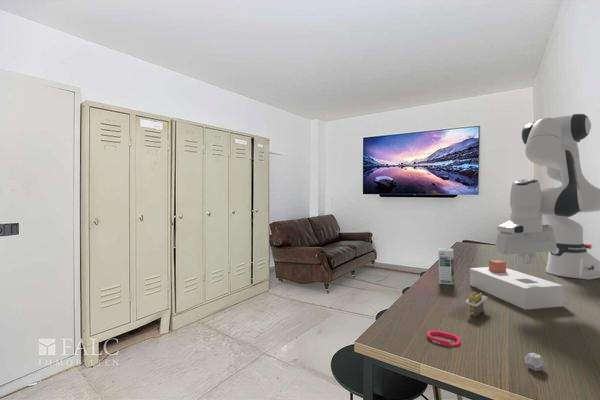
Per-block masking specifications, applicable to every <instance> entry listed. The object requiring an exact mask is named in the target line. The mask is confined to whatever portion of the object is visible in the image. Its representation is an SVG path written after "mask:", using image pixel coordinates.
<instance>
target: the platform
mask: <svg viewBox="0 0 600 400" xmlns="http://www.w3.org/2000/svg"><path fill="white" fill-rule="evenodd" d="M476 293H477V292H476V291H474V292H473V293H471V294H470V295H468V298H466V299H465V300H464V302H465V303H466V304H468V305H469V316H470V315H471V316H473V318H474V319H475V318H477V317H478V316H479V314H481V313H482V312H484V310H485V309H484V302H485V301H487V299H488V296H487V295H482V292H480V293H479V294H476Z"/></svg>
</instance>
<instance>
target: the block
mask: <svg viewBox="0 0 600 400" xmlns="http://www.w3.org/2000/svg"><path fill="white" fill-rule="evenodd" d="M521 279H528V280H531V281H534V282H537V283H528V284H526V283H523V282H520V281H517V280H521ZM469 286H471V287H473V288H475V287H476V289H478V290H480V291H482V292H484V291H485V293H486V294H489V295H492V296H494V297H496V298H498V299H499V300H503V301H505V302H507V303H510V304H512V305H514V306H515V307H519V308H521V309H523V310H527V311H528V310H537V309H546V308H547V309H549V308H557V307H558V308H559V307H564V285H562V284H560V283H556V282H553V281H549V280H548V279H547V280H546V279H543V278H540V277H536V276H534V275H531V274H527V273H523V272H520V271H518V270H514V269H511V268H507V267H506V273H494V272H491V271H489V266H487V267H486V266H485V267H481V266H480V267H470V268H469Z"/></svg>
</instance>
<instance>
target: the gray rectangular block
mask: <svg viewBox="0 0 600 400" xmlns="http://www.w3.org/2000/svg"><path fill="white" fill-rule="evenodd" d="M517 281H520V282H523V283H526V284H528V283H537V282H534V281H531V280H528V279H521V280H517Z"/></svg>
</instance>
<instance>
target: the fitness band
mask: <svg viewBox="0 0 600 400" xmlns="http://www.w3.org/2000/svg"><path fill="white" fill-rule="evenodd" d="M426 336H427V338H428V339H430V340H431V342H432V343H435V344H438V345H441V346H446V347H454V348H455V347H459V346H460V345H461V338H460V337H459V336H458V335H455V334H453V333H449V332H445V331H441V330H429V331H427V332H426ZM435 336H440V337H445V338H449V339H451V340H455V341H456V342H454V343H451V340H447V339H443V338H439V337H435Z"/></svg>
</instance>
